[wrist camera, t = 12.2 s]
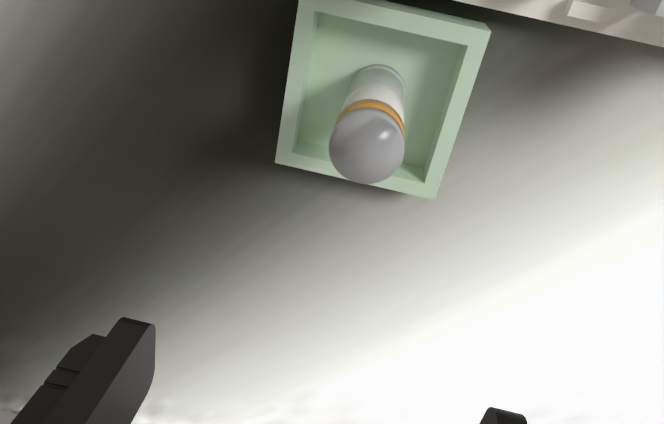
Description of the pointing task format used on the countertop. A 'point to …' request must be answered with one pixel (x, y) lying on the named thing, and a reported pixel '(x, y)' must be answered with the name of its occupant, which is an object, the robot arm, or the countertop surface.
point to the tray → (388, 49)
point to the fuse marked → (370, 126)
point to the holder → (593, 15)
